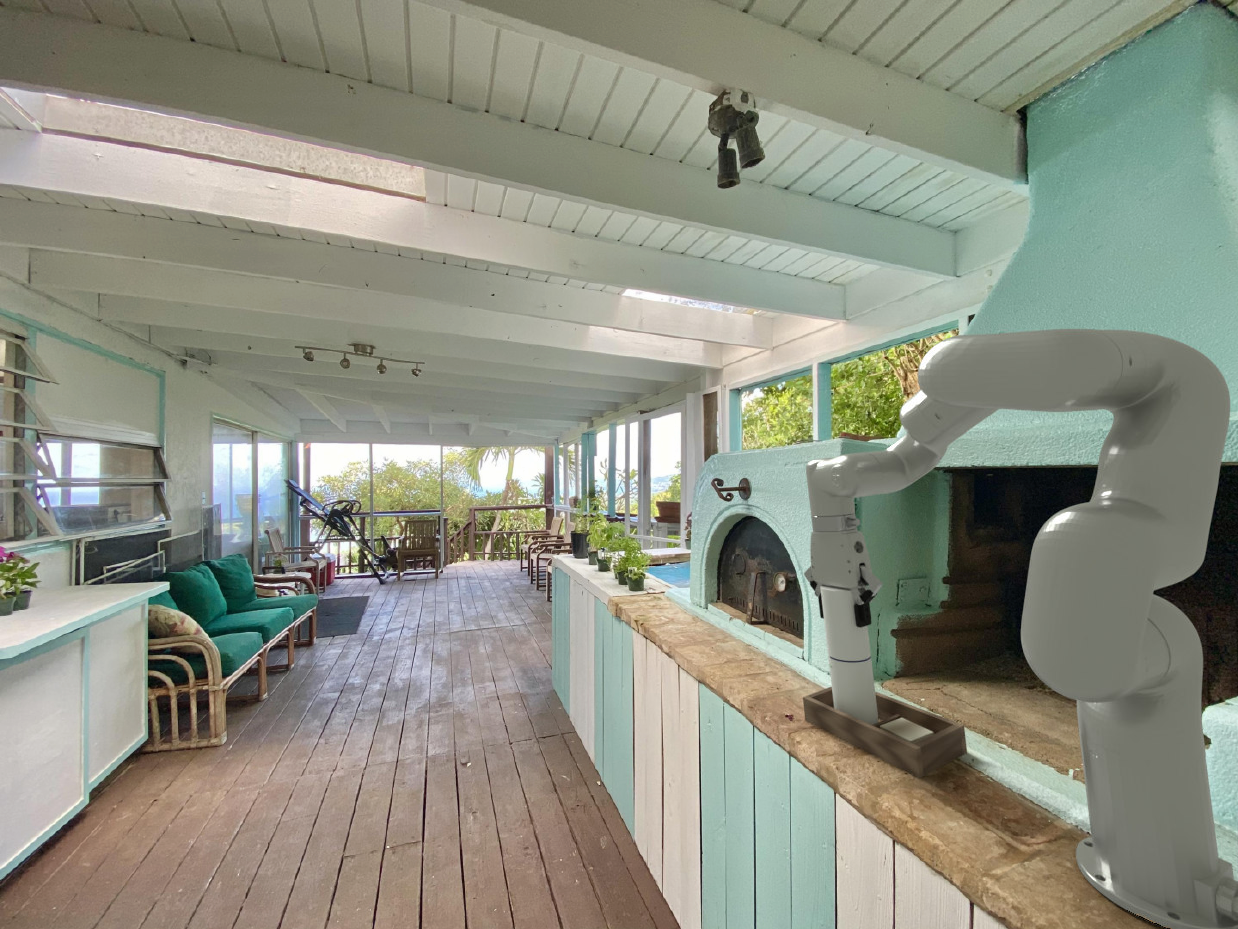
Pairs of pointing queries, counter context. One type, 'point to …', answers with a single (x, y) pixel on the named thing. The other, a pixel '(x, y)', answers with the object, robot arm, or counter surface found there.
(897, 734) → the offcut top
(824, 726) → the tray
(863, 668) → the cylindrical container
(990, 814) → the counter surface
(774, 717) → the counter surface
